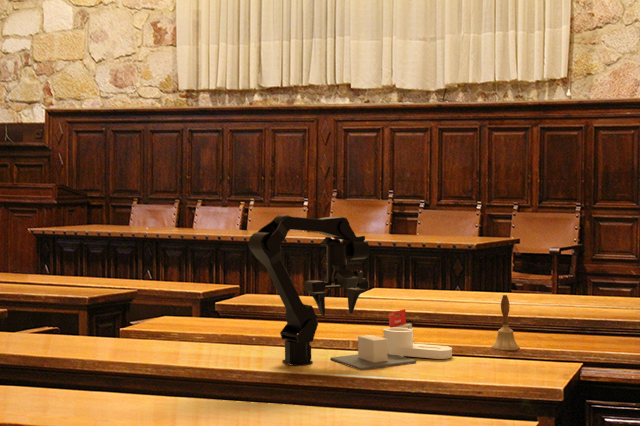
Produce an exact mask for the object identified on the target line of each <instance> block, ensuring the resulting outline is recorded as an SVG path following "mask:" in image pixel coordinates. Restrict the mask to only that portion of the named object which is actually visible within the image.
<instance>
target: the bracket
mask: <svg viewBox="0 0 640 426" xmlns="http://www.w3.org/2000/svg"><path fill="white" fill-rule="evenodd" d="M382 330H383V331H382V335H383V337H382V338H385V339H387V354H390V355H399V356H402V357H413V358H422V359H423V358H427V359H437V360H446V359H450V358H452V357H453V347H451V346H447V345H435V344H424V343H414V333H415V332H414V329H413V328H412V329H408V328H390V327H385V328H383V329H382Z"/></svg>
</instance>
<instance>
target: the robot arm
mask: <svg viewBox="0 0 640 426" xmlns="http://www.w3.org/2000/svg"><path fill="white" fill-rule="evenodd" d="M348 220H349V219H348V218H347V217H344V216H327V217H320V218H312V217H311V218H310V217H300V216H291V215H287V214H285V215H284V214H281V215H279V214H278V215H277V216H275V217H274V218H273V219H272V220H271V221H270V222H269V223H266V225H263V227H261V228H260V229H258V231H257V232H254V233H253V234H251V236H249V240H248V242H247V246H248V248H249V250H250V252H251V253H252V255H253V256H255V258H256V260H258V261H259V262H260V263H261V264H262V265H263V266H264V267H265V269H266V271H267V273H268V275H269V277H270V279H271V281H272V283H273V286H274V288H275V289H276V292H277V293H278V295H279V298H280V300H281V301H282V304H283V306H284V308H285V320H286V323H285V326H284V327H283V328H282V329H281V331H280V337H281V340H284V359H282V363H285V364H287V365H290V366H299V365H298V364H301V365H308V364H313V363H314V362H313V361H314V360H312V345H311V344H310V343H313V342H314V339H315V335H316V332H317V329H318V326H319V321H318V319H319V316H318V315H317V314H316V312H315V309H314V307H313V305H310V304H304V303H303V302H302V299H301V298H300V295H299V293H298V291H297V289H296V287H295V285H294V283H293V280H292V279H291V277H290V274H289V272H288V270H287V268H286V266H285V265H284V261H283V260H282V247H281V244H282V243H283V242H284V241H285V240H286V237H287V236H288V235H287V234H288V233H289V232H290V230H291V231H304V232H315V233H318V234H320V235H323V236H325V237H324V238H323V240H322V241H321V242H320V243H319V245H320V246H326V263H324V268H326V277H325V278H324V280H323V281H322V280H315V279H314V280H306V281H305V283H304V284H303V291H304V292H307V293H308V294H310V295H311V296H312V298H313V300H314V301H315V304H316V305H317V306H316V307H317V308H318V310H319V312H320V316H322V317H326V302H325V300H326V296H327V292H325V291H326V290H327V289H344V290H346V292H347V294H346V295H347V308H348V313H349V314H353V313H354V310H355V306H356V303H357V301H358V298H359V297H360V295H361V294H362V293H364V292H366V289H370V282H369V279H368V278H365V277H364V275H363V274H364V272H363V271H362V270H361V269H359V270H358V269H355V270H353V271H351V269H350V263H348V262H347V261H348V260H351V261H352V260H364V259H367V258H368V257H369V255H370V253H371V252H370V251H371V247H370V245H369V243H368V241H367V240H366V235H356V234H355V232H354V230H353V229H352V227H351V225H350V222H349V221H348Z"/></svg>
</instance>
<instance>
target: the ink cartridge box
mask: <svg viewBox="0 0 640 426" xmlns="http://www.w3.org/2000/svg"><path fill="white" fill-rule="evenodd" d="M397 314H398V315H399V316H396V315H397ZM406 315H407V313H406V308H405V309H399V310H395V311H393V312H392V311H391V312H389V313H388V322H389V324H388V325H389V328H408V329H412V330H413V324H412V323H407V316H406Z"/></svg>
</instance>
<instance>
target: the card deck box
mask: <svg viewBox="0 0 640 426" xmlns="http://www.w3.org/2000/svg"><path fill="white" fill-rule="evenodd" d="M357 345H358V346H357V354H358V358H361V359H364V360H368V361H371V362H381V361H387V339H385V338H383V337H381V336H378V335H373V334H368V335H359V336H357Z"/></svg>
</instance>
